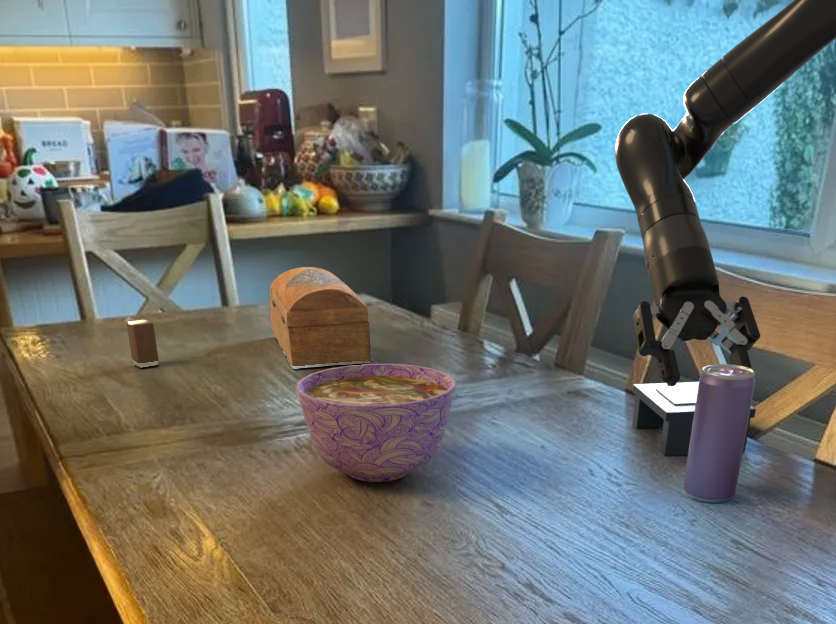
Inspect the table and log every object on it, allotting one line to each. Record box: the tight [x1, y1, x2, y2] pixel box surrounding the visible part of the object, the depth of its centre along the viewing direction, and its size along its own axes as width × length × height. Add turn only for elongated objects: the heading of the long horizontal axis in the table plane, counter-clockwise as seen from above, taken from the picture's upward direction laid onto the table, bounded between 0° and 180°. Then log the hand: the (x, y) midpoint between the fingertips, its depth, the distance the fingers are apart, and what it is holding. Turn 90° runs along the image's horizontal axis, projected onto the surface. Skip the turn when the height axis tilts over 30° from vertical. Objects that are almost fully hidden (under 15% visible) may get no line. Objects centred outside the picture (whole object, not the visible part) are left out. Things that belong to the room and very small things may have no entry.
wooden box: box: [269, 266, 372, 366], centre depth 176 cm, size 30×16×14 cm, turn 12°
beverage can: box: [682, 363, 756, 504], centre depth 105 cm, size 6×6×15 cm
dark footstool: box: [631, 381, 757, 457], centre depth 126 cm, size 12×14×6 cm
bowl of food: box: [295, 363, 457, 483], centre depth 115 cm, size 20×20×12 cm
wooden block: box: [126, 319, 160, 363], centre depth 168 cm, size 4×4×8 cm
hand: (708, 381), depth 106 cm, fingers open, 8 cm apart
